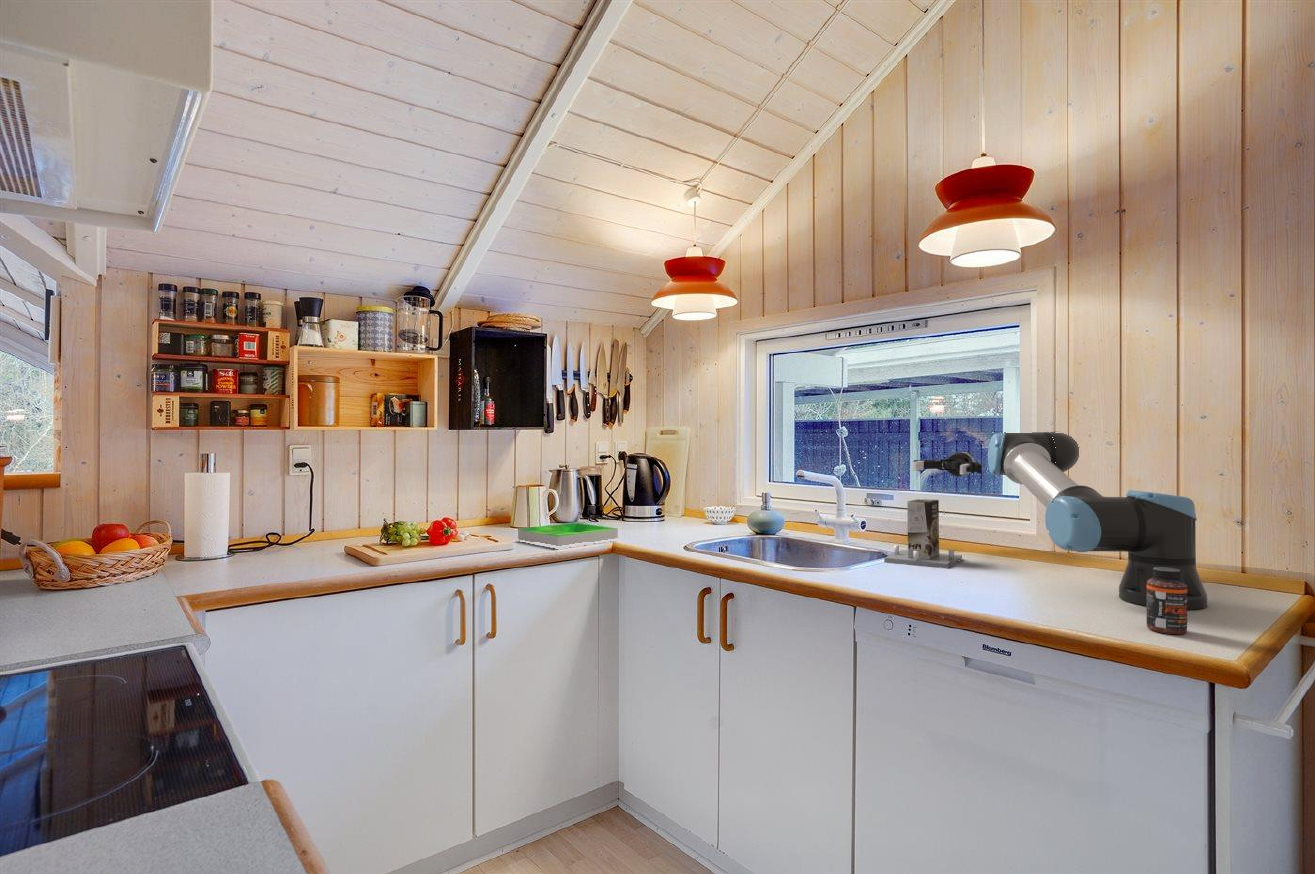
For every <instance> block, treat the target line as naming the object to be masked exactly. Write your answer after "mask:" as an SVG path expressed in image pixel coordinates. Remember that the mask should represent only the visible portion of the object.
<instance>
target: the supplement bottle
mask: <svg viewBox="0 0 1315 874" xmlns="http://www.w3.org/2000/svg"><path fill="white" fill-rule="evenodd" d="M1180 577H1181V576H1180V570H1178V569H1174V568H1167V567H1154V568H1153V577H1152V578H1151V579H1149V580H1148V581H1147V606H1146V627H1147V629H1149V630H1151V631H1153V632H1155V633H1159V634H1163V635H1165V634H1166V635H1171V636H1172V635H1173V636H1179V635H1184V634H1186V633H1187V632H1188V621H1189V619H1188V610H1187V586H1186V584H1185V583H1184V582H1183V581H1182V580H1181V579H1180Z"/></svg>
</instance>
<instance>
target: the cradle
mask: <svg viewBox="0 0 1315 874" xmlns="http://www.w3.org/2000/svg"><path fill="white" fill-rule="evenodd" d="M961 559H962V560H963V555H962V554H955V550H954V549H948V553H943V552H941V553H940V552H939V556H936V557H934V558H932V559H929V560H927V559H919V551H914V558H910V557H908V549H907V550H906V549H901V550H900V545H899V544H895V545H893V553H892V554H889V555H888V556H885V557H884V563H889V564H890V563H891V564H900V565H911V566H922V567H929V568H930V567H931V568H939V567H941V569H949V568H950V566H951V567H952V566H954V565H955V564H957V563H959V562H960V561H962V560H961ZM959 560H960V561H959ZM958 561H959V562H958ZM956 562H957V563H956ZM953 564H954V565H953Z"/></svg>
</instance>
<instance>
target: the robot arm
mask: <svg viewBox="0 0 1315 874" xmlns="http://www.w3.org/2000/svg"><path fill="white" fill-rule="evenodd" d="M1055 432H1056V431H1047V432H1032V433H1006V432H1004V433H996V434H994V435H993V436H992V437H991V439H990V442H989V443H988V450H987V464H988V470H989V471H990V473H991V474H992V475H993V476H998V477H1001V476H1006V477H1007V478H1008V479H1009V480H1010V481H1012V482H1013V483H1015V484H1018V485H1023V486H1024V487H1025V488H1026V489H1027V490H1028V491H1029V492H1030V494H1032V495H1033V496H1034V497H1035V498H1036V499H1037V501H1038V502H1040V503H1041V504H1042V505H1043V506H1044V507H1045V509H1046V510H1045V514H1044V522H1045V526H1046V527H1045V528H1046V530H1048V535H1049V537H1050V540H1051V541H1052V542H1053V543H1054V544H1055V545H1056V546H1057V547H1058V548H1060V549H1062V550H1064V551H1069V552H1076V553H1088V552H1109V553H1110V552H1115V553H1117V552H1119V553H1121V552H1122V553H1123V552H1125V553H1128V554H1127V565H1126V567H1125V570H1124V572H1123V575H1122V578H1121V580H1120V583H1119V585H1118V597H1119V599H1121V600H1122V601H1124V602H1125V601H1126V602H1128V603H1132V604H1136V605H1141V606H1145V607H1147V581H1148V580H1149V579H1151V578H1152V577H1153V568H1154V567H1167V568H1174V569H1178V570H1180V576H1181V577H1180V579H1181V580H1182V581H1183V582H1184V583H1185V584H1186V586H1187V611H1188V610H1201V609H1206V608H1207V607H1208V594H1207V591H1206V590H1205V587H1204V585H1203V582H1202V580H1201V578H1200V574H1199V572H1198V570H1197V555H1196V554H1197V543H1196V540H1197V534H1196V532H1197V531H1196V529H1197V528H1196V524H1197V523H1196V521H1197V519H1198V518H1197V515H1196V506H1195V502H1194V501H1193V500H1192V499H1191V498H1189V497H1187V496H1183V495H1182V496H1181V495H1176V494H1175V495H1174V494H1167V493H1166V494H1165V493H1159V492H1151V491H1143V490H1142V491H1140V490H1134V489H1133V490H1132V489H1129V490H1128V491H1127V493H1126V495H1125V496H1103V495H1102V494H1101V493H1099V491H1097V490H1095V489H1094V488H1092V487H1091V486H1087V485H1080V484H1078V483H1077V482H1075V481H1074V480H1073V479H1072V478H1071V477H1070V476H1068V475H1067V474H1066V473H1065V472H1067V471H1068V470H1071V469H1072V468H1073V467H1074V466H1075V465H1076V464H1077V462H1078V461H1079V459H1078V458H1080V456H1079V448H1080V446H1079V447H1078V445H1079V443H1078V442H1076V441H1077V440H1076V439H1075V438H1074V437H1073V436H1071V435H1070V436H1069V434H1068V435H1067V433H1065V432H1062V433H1055ZM1064 433H1065V434H1064ZM1052 437H1053V438H1052ZM1072 437H1073V438H1074V439H1075V440H1076V441H1075V440H1074V439H1073V438H1072ZM1053 439H1054V440H1053ZM1054 442H1055V443H1054ZM1077 443H1078V444H1077ZM1055 447H1056V448H1055ZM1055 462H1056V463H1055ZM912 467H913V468H912V471H913V472H922V471H924V470H938V471H946V472H947V473H949V474H950V475H952V476H954V477H962V476H963V475H965V476H966V475H967V476H968V475H970V474H969V473H972V474H982V471H983V470H982V465H981V464H979V463H978V462H975V461H974V458H973V456H972V455H971V454H969V453H968V452H953V453H951V454H949V455H948V456H947V458H944V459H943V458H938V459H922V460H921V459H913V464H912ZM975 472H977V473H975Z"/></svg>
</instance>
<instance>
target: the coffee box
mask: <svg viewBox="0 0 1315 874" xmlns="http://www.w3.org/2000/svg"><path fill="white" fill-rule="evenodd" d="M939 503H940V502H939V499H927V498H926V499H924V498H923V499H913V500H908V501H907V506H906V507H907V509H906V510H907V511H906V512H907V515H906V516H907V526H906V527H907V550H908V557H910V558H914V551H919V559H927V560H929V559H932V558H934V557H936V556H939V553H940V517H939V516H940V512H939V511H940V507H939V506H940V505H939Z"/></svg>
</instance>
